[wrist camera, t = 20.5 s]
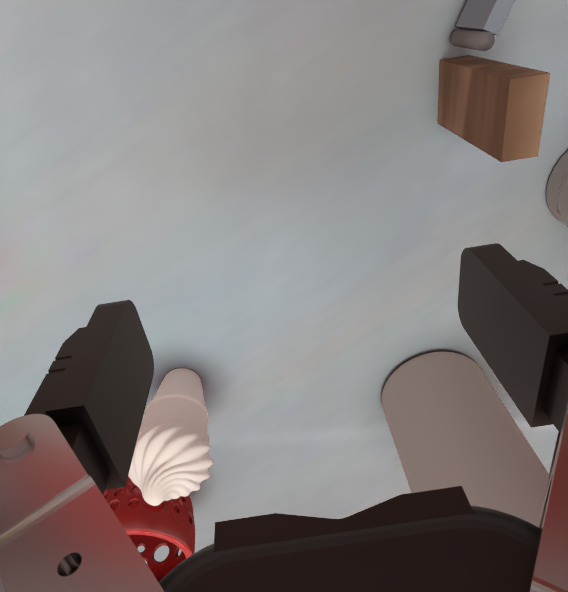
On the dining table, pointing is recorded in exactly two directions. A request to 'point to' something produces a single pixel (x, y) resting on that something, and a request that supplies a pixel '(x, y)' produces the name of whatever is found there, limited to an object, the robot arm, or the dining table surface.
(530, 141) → the wooden blocks
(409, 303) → the dining table surface
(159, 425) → the soft serve ice cream cone
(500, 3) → the gate
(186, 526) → the plant pot
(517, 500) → the cylinder vase
